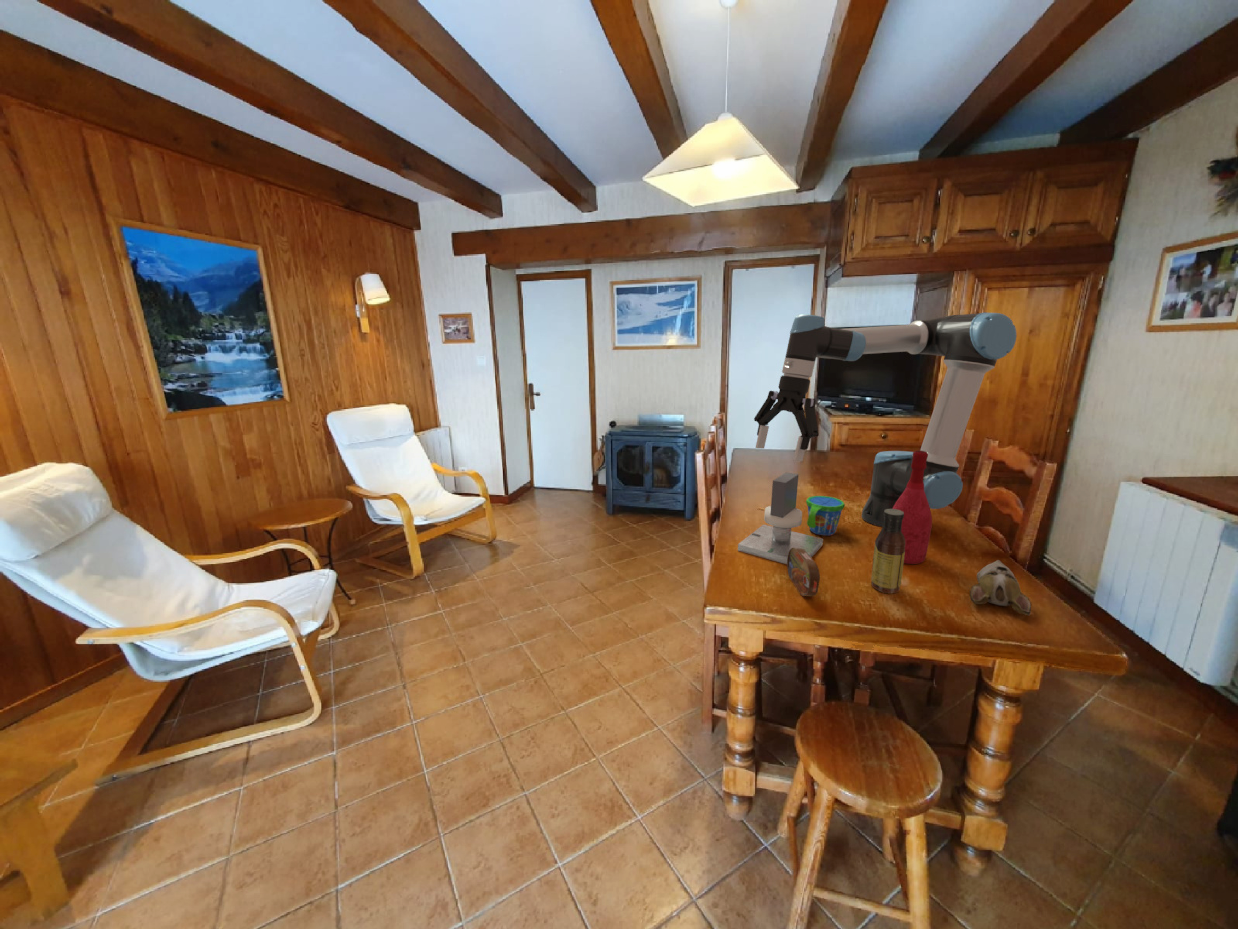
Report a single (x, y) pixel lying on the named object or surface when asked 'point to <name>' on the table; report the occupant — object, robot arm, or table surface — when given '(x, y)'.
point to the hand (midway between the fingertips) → (777, 454)
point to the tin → (803, 572)
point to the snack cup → (824, 514)
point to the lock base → (779, 549)
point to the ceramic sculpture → (999, 588)
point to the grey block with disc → (783, 503)
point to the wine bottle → (915, 512)
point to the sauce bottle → (889, 553)
